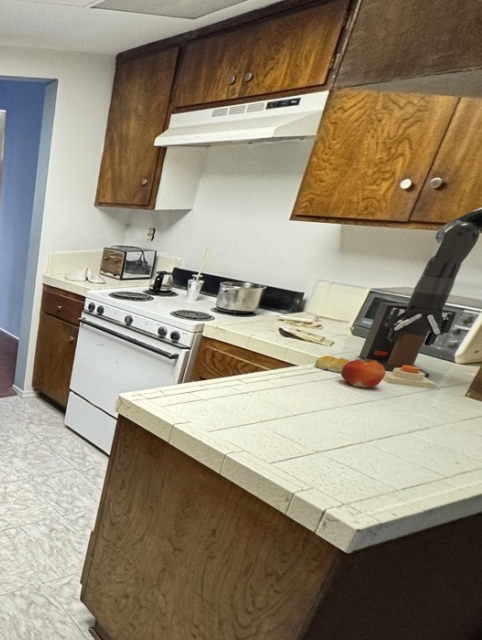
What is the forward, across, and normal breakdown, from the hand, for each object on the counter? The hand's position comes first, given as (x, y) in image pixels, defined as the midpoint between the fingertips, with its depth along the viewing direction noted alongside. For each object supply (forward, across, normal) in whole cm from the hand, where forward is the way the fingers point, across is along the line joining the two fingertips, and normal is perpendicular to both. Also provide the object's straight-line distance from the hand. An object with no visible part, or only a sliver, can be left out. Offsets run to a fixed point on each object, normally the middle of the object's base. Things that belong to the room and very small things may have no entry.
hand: (408, 343), depth 148 cm
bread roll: (+10, -18, -7) cm, 22 cm away
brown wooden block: (+8, 0, 0) cm, 8 cm away
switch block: (+10, -2, -12) cm, 15 cm away
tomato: (+10, -16, -23) cm, 30 cm away
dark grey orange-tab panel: (+10, 0, +5) cm, 11 cm away
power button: (+7, -2, -12) cm, 14 cm away
